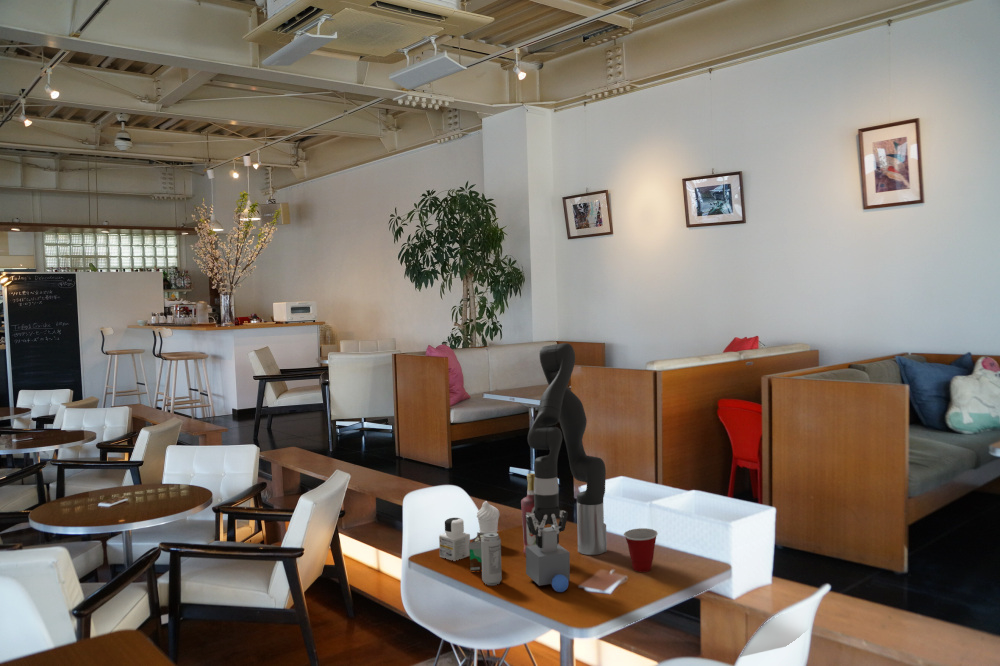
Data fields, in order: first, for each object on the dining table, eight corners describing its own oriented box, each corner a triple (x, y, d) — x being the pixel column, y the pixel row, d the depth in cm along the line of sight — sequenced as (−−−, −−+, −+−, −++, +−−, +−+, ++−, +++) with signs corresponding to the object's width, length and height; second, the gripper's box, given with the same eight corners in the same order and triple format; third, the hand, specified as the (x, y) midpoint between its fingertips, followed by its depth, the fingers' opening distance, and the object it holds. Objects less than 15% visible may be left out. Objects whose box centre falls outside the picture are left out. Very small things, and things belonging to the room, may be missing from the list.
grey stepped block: (555, 569, 232) (555, 523, 232) (569, 580, 223) (569, 533, 222) (526, 573, 229) (525, 527, 228) (539, 585, 219) (538, 537, 219)
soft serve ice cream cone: (498, 540, 270) (497, 497, 269) (502, 547, 261) (501, 503, 261) (475, 542, 268) (474, 499, 268) (479, 549, 260) (478, 504, 260)
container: (439, 557, 253) (438, 519, 253) (455, 551, 258) (454, 514, 258) (454, 561, 248) (453, 523, 247) (470, 555, 253) (469, 518, 253)
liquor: (529, 559, 247) (527, 477, 247) (518, 554, 254) (516, 473, 253) (547, 555, 251) (545, 474, 251) (535, 550, 258) (533, 471, 257)
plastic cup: (619, 565, 240) (618, 529, 239) (650, 562, 242) (649, 526, 242) (631, 576, 229) (631, 538, 229) (664, 573, 231) (663, 535, 231)
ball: (566, 569, 219) (572, 583, 216) (562, 580, 222) (568, 594, 218) (551, 572, 218) (557, 586, 214) (547, 582, 220) (553, 596, 217)
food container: (488, 574, 234) (487, 543, 234) (469, 573, 235) (468, 543, 235) (496, 562, 246) (495, 532, 246) (478, 561, 247) (477, 531, 247)
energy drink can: (495, 577, 231) (493, 530, 231) (505, 583, 226) (504, 535, 226) (478, 581, 228) (477, 534, 228) (488, 587, 223) (487, 538, 222)
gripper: (562, 486, 231) (563, 540, 231) (520, 491, 226) (521, 545, 226) (572, 491, 224) (573, 546, 224) (529, 496, 219) (530, 552, 219)
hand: (547, 546), depth 225 cm, fingers closed on grey stepped block, 4 cm apart
